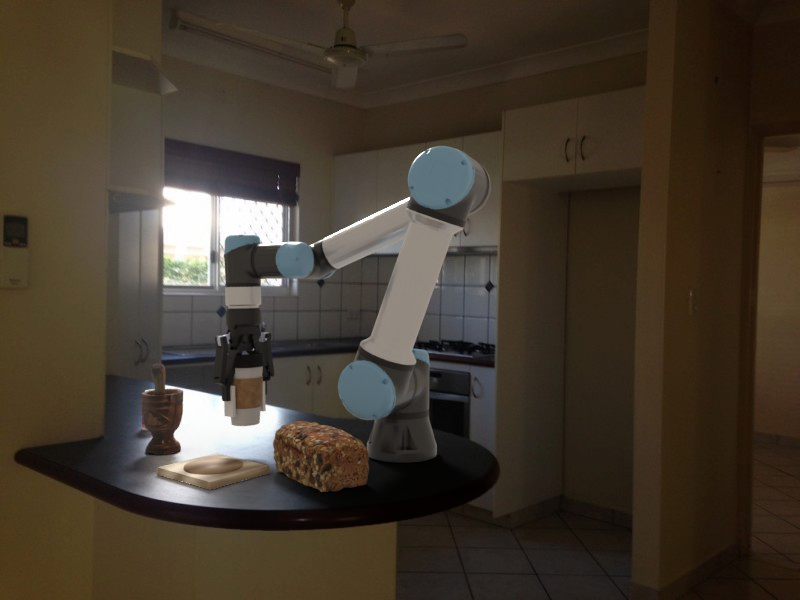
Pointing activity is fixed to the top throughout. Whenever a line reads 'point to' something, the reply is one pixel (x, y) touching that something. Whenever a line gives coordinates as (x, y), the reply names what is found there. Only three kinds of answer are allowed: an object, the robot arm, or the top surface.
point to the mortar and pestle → (162, 413)
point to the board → (213, 470)
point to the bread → (320, 456)
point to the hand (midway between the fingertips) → (245, 413)
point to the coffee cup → (248, 389)
